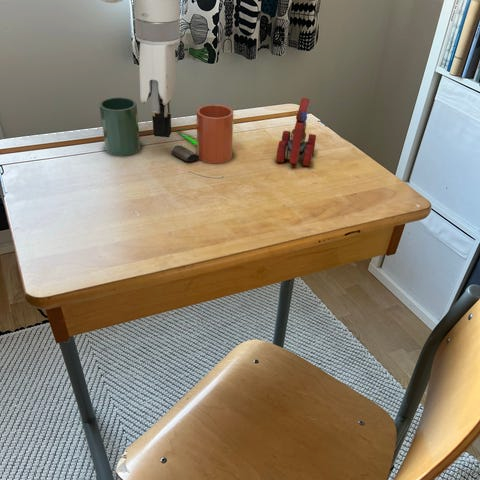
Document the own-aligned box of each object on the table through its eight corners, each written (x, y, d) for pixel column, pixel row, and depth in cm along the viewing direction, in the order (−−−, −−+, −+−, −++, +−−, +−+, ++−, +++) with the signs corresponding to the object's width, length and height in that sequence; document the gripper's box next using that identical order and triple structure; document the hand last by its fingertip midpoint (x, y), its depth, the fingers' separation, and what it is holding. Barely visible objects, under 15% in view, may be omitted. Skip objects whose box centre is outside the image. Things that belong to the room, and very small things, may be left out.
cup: (195, 162, 102) (194, 116, 96) (200, 147, 107) (199, 103, 101) (229, 164, 102) (231, 119, 96) (233, 149, 107) (234, 106, 101)
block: (186, 165, 101) (186, 156, 100) (169, 154, 104) (169, 145, 103) (201, 160, 103) (201, 152, 102) (184, 149, 106) (183, 141, 105)
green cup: (101, 154, 103) (94, 109, 97) (111, 140, 108) (105, 96, 102) (135, 157, 103) (131, 112, 97) (143, 142, 108) (139, 98, 102)
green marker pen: (181, 133, 113) (180, 129, 112) (216, 158, 105) (216, 154, 104) (177, 134, 113) (177, 130, 112) (212, 158, 104) (212, 155, 104)
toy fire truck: (273, 169, 101) (278, 116, 94) (283, 143, 110) (288, 93, 103) (308, 173, 101) (316, 121, 93) (315, 147, 110) (322, 97, 102)
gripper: (145, 17, 93) (151, 119, 105) (124, 39, 82) (134, 149, 94) (186, 21, 92) (188, 122, 105) (171, 43, 81) (174, 153, 94)
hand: (162, 135), depth 99 cm, fingers closed
